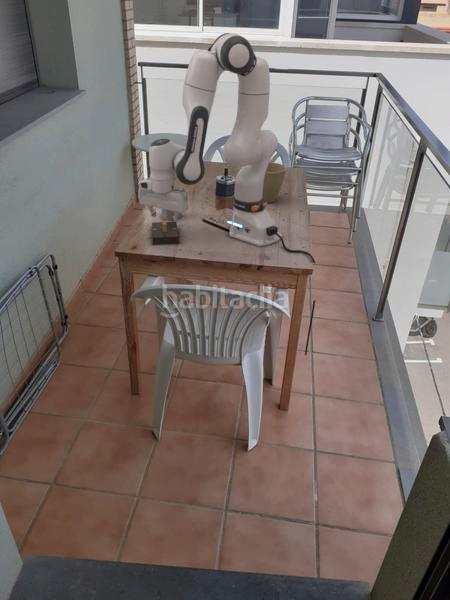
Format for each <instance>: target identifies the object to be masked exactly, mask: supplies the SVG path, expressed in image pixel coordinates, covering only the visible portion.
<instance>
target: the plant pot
mask: <svg viewBox="0 0 450 600" xmlns="http://www.w3.org/2000/svg"><path fill="white" fill-rule="evenodd" d="M286 173H287V167H286V165H284V164H281V163H278V162H273V161H270V162H269V165H268V167H267V170H266V174H265V177H264V184H263V195H262V197H263V199H264V203H266V202H267V204H272V203H274V202H275V201H276V199H277V197H278V195H279V193H280V190H281V188H282V186H283V183H284V179H285V175H286Z"/></svg>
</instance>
